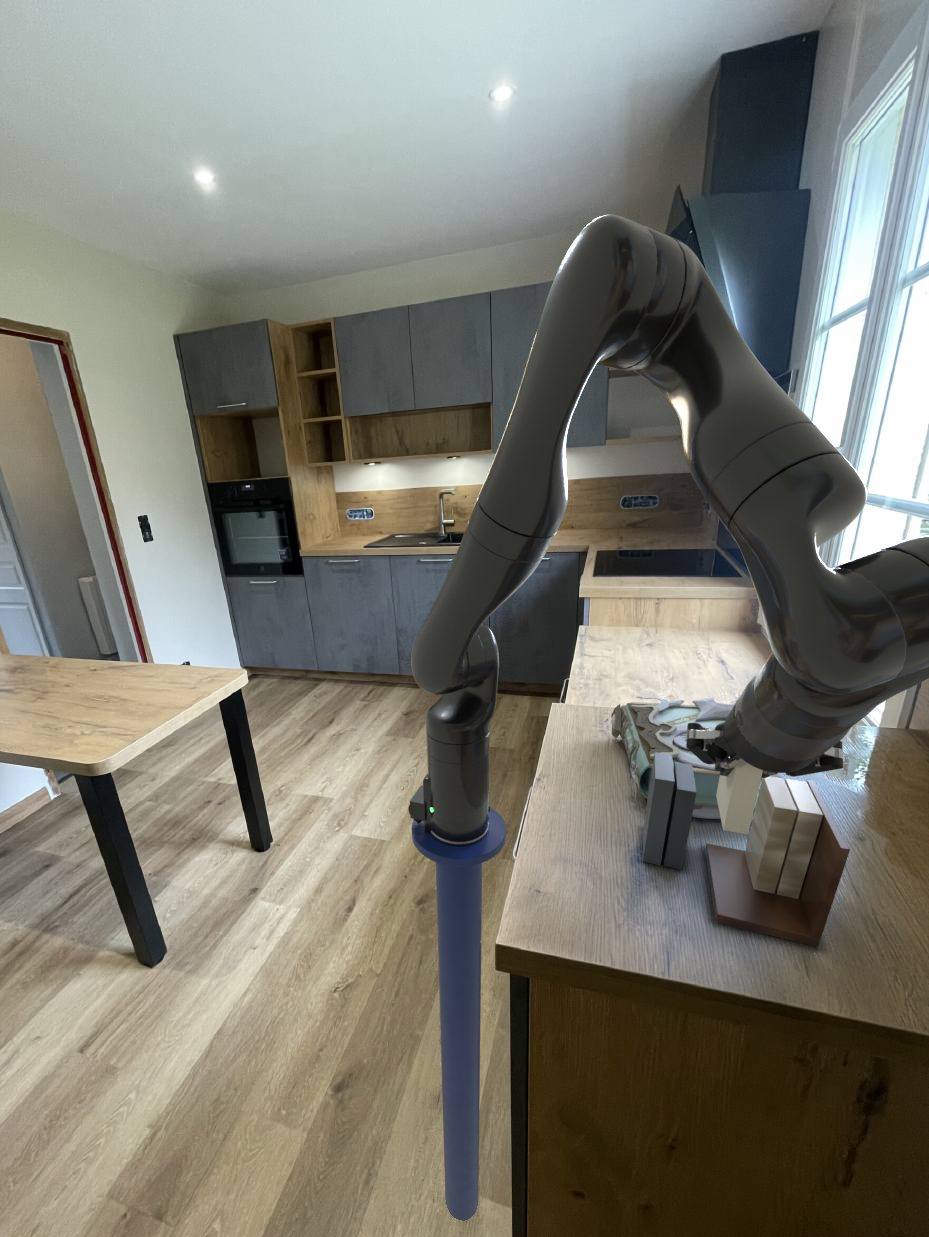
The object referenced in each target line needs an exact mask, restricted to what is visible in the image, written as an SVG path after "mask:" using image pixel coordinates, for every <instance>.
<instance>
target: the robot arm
mask: <svg viewBox="0 0 929 1237" xmlns="http://www.w3.org/2000/svg"><path fill="white" fill-rule="evenodd" d="M596 366H600V367H601V366H602V367H605V368H609V369H614V370H619V371H625V372H629V371H630V372H631V371H633V372H635V373H636V374H638V375H639V376H641V377H642V378H643V379H645V380H646V381H647V382H649V383H650V384H651V385H652V386H654V387H655V388H656V389H657V391H659V392H660V393H661V394H662V395H663V396H664V397H665V398H666V399H667V400H668V402H669V403H670V404H671V406H672V408H673V409H674V411H675V413H676V415H677V418H678V420H679V424H680V425H679V426H680V430H681V440H682V447H683V448H682V449H683V454H684V458H685V461H686V465H687V467H688V470H689V472H690V475H691V476H692V478H693V480H694V482H695V484H696V486H697V488H698V489H699V491H700V493H701V495H702V496H703V497H704V499H705V500H706V502H707V504H708V505H709V506H710V507H711V509H712V510H713V512H714V513H715V515H716V516H717V517H718V519H719V521H720V522H721V523H722V524H723V526H724V527H725V529H726V531H727V532H728V533H729V535H730V536H731V537H732V539H733V540H734V542H735V543H736V545H737V546H738V549H739V550H740V553H741V555H742V557H743V560H744V563H745V565H746V568H747V570H748V573H749V577H750V580H751V582H752V585H753V589H754V590H755V594H756V597H757V598H756V599H757V601H758V604H759V608H760V612H761V616H762V620H763V625H764V628H765V632H766V636H767V639H768V643H769V645H770V648H771V651H772V652H771V654H770V655H769V656H768V658H767V660H766V661H765V662H764V664H763V665H762V667H761V669H760V670H759V671H758V672H757V673H756V674H754V676H753V677H752V678H751V679H750V680H749V681H748V682H747V684H746V686H745V687H744V688H743V690H742V692H741V693H740V695H739V696H738V698H737V700H736V702H735V703H734V704H733V705H734V706H733V708H732V710H731V711H730V713H729V715H728V717H727V719H726V721H725V722H724V723H720V724H718V725H717V726H716V727H715V730H709V728H707V727H704V728H703V727H702V726H701V725H700V724H698V723H688V726H687V742H686V747H687V748H688V749H689V750H690V751H691V752H692V753H693V754H694V755H695V756H697V757H698V758H699V759H700V760H701V761H702V762H703V763H706V764H715V770H716V771H720V775H721V776H728V775H729V774H730V773H731V771H732V770H733V769H734V767H742V766H744V765H745V764H747V763H748V764H750V765H752V766H754V767H756V768H758V769H761V770H763V773H762V777H761V779H762V778H767V777H769V776H770V775H776V774H778V775H779V774H784V773H785V775H786V776H789V777H793V778H795V777H801V776H806V775H807V776H808V775H812V774H813V775H814V774H818V773H823V772H824V773H825V772H831V771H835V770H842V769H844V747H843V741H842V740H843V739H844V738H845V737H846V736H847V734H848V733H849V732H850V730H851V729H852V728H853V727H854V726H855V725H856V724H858V723H859V722H860V721H862V720H863V719H864V718H866V717H867V716H868V715H869V714H871V712H872V711H873V710H875V708H876V707H878V706H879V705H881V704H882V703H884V702H886V701H887V700H889V699H891V698H893V697H895V696H897V695H898V694H900V693H902V692H905V691H907V690H909V689H912V688H913V687H915V686H917V685H920V684H921V683H923V682H925V681H927V680H929V535H922V536H917V537H911V538H908V539H904V540H901V541H898V542H895V543H892V544H889V545H887V546H884V547H881V548H879V549H876V550H875V551H872V552H869V553H867V554H864V555H861V556H859V557H857V558H853V559H851V560H848V561H845V562H843V563H840V564H838V565H835V566H833V567H830V568H829V567H828V566H827V565H826V564H825V562H824V561H823V560H822V559H821V557H820V555H819V552H818V548H820V547H821V546H823V545H824V544H826V543H827V542H830V540H832V539H833V538H835V537H836V536H837V535H838V534H840V533H841V532H843V531H844V530H845V529H846V528H847V527H848V526H850V525H851V524H852V523H853V521H854V520H856V519H857V517H858V516H859V515H860V514H861V512H862V510H863V509H864V507H865V505H866V502H867V499H868V491H867V486H866V484H865V481H864V479H863V478H862V477H861V475H860V473H859V472H858V471H857V470H856V469H855V468H854V466H853V465H852V464H851V462H850V461H848V460H847V458H846V457H845V456H844V455H843V454H842V453H841V452H840V450H839V449H838V448H837V447H836V446H835V445H834V444H833V443H832V442H831V440H830V439H828V437H826V435H825V434H824V433H823V432H822V431H821V430H820V428H818V426H817V425H816V424H815V422H814V421H812V420H811V418H810V417H809V416H808V415H807V414H806V413H805V412H804V411H803V410H802V408H800V407H799V406H798V404H796V403H795V401H794V400H793V399H792V398H791V397H790V396H789V395H788V393H786V391H785V390H784V389H783V388H782V387H781V386H780V385H779V384H778V383H777V381H776V380H775V379H774V378H773V377H772V376H771V374H770V373H769V372H768V371H767V369H766V368H765V367H764V366H763V365H762V364H761V362H760V361H759V359H758V358H757V357H756V355H755V354H754V353H753V351H752V349H751V348H750V347H749V345H748V343H747V342H746V341H745V338H744V337H743V336H742V335H741V333H740V331H739V330H738V328H737V326H736V325H735V323H734V321H733V320H732V318H731V316H730V315H729V313H728V310H727V309H726V306H725V305H724V303H723V300H722V298H721V296H720V295H719V292H718V291H717V288H716V287H715V285H714V283H713V281H712V279H711V277H710V275H709V274H708V271H707V270H706V269H705V267H704V264H703V263H702V262H701V260H700V259H699V257H698V255H697V254H696V253H695V252H694V251H693V249H692V248H691V247H690V246H689V245H687V244H686V243H684V242H683V241H681V240H680V239H678V238H676V237H673V236H670V235H668V234H666V233H663V232H661V231H659V230H656V229H654V228H652V227H649V226H647V225H644V224H641V223H640V222H637V221H635V220H632V219H630V218H627V217H624V216H620V215H617V214H604V215H601V216H598V217H596V218H594V219H593V220H591V221H590V222H589V223H588V224H586V225H585V226H584V227H583V229H581V231H580V232H579V233H578V234H577V235H576V236H575V238H574V240H573V241H572V242H571V244H570V246H569V248H568V249H567V251H566V253H565V255H564V257H563V258H562V260H561V263H560V265H559V267H558V269H557V271H556V274H555V276H554V279H553V281H552V284H551V287H550V289H549V291H548V295H547V298H546V301H545V303H544V307H543V310H542V313H541V316H540V319H539V323H538V326H537V329H536V333H535V336H534V338H533V342H532V346H531V349H530V352H529V356H528V358H527V362H526V366H525V368H524V373H523V376H522V379H521V383H520V385H519V389H518V392H517V394H516V398H515V400H514V404H513V408H512V409H511V413H510V416H509V418H508V420H507V424H506V426H505V430H504V432H503V435H502V438H501V440H500V443H499V445H498V448H497V450H496V453H495V455H494V459H493V460H492V463H491V466H490V468H489V470H488V473H487V475H486V478H485V480H484V482H483V484H482V487H481V488H480V491H479V493H478V496H477V498H476V500H475V502H474V506H473V508H472V511H471V513H470V516H469V518H468V521H467V524H466V527H465V529H464V531H463V532H464V533H463V536H462V538H461V541H460V544H459V545H458V549H457V551H456V553H455V555H454V557H453V560H452V562H451V565H450V566H449V569H448V572H447V574H446V577H445V579H444V581H443V583H442V586H441V588H440V590H439V592H438V594H437V596H436V597H435V600H434V602H433V604H432V605H431V607H430V609H429V611H428V613H427V615H426V616H425V618H424V620H423V622H422V623H421V626H420V628H418V631H417V633H416V634H415V638H414V640H413V644H412V646H411V652H410V669H411V673H412V677H413V679H414V682H415V683H416V684H417V686H418V687H419V688H420V689H421V690H422V691H424V692H426V693H428V694H429V695H430V694H431V695H436V696H438V695H439V696H440V695H441V697H440V698H439V699H438V700H437V701H436V702H434V704H432V705H431V706H430V708H428V711H427V712H426V714H425V731H426V732H425V734H426V764H427V774H426V775H425V776H424V778H423V780H422V785H420V786H419V787H418V788H417V790H416V791H415V793H414V795H412V797H411V798H410V800H409V805H408V809H407V810H408V814H409V815H410V816H409V817H410V819H412V820H415V821H416V822H417V824H419V823H420V822H422V821H424V824H425V832H426V833H429V834H431V835H432V836H433V837H434V838H435V839H436V840H438V841H439V842H441V843H444V844H447V845H451V846H468V845H472V844H475V843H477V842H479V841H481V840H482V839H483V838H484V837H485V836H486V835H487V833H488V830H489V815H488V812H489V813H490V807H491V806H490V804H489V803H490V802H489V800H490V797H489V796H490V745H491V744H490V741H491V738H490V737H491V736H490V734H491V732H490V731H491V721H492V720H493V718H494V715H495V713H496V707H497V696H498V684H499V683H498V681H499V671H500V670H499V669H500V657H499V656H500V655H499V647H498V643H497V640H496V637H495V634H494V632H493V631H492V629H491V628H490V627H489V626H488V625H487V624H486V623H485V622H486V620H487V619H488V618H489V617H490V616H491V615H492V614H493V613H494V612H495V611H496V610H498V608H500V607H501V605H503V604H504V603H505V602H506V601H507V600H508V599H509V598H510V597H511V596H512V595H513V594H514V593H515V592H516V591H517V590H518V589H520V588H521V587H522V585H524V583H525V582H526V581H527V580H528V579H529V578H530V577H531V576H532V575H533V573H534V572H535V571H536V569H537V568H538V567H539V565H540V563H541V562H542V560H543V559H544V557H545V555H546V553H547V551H548V550H549V548H550V546H551V544H552V542H553V541H554V538H555V537H556V535H557V533H558V531H559V529H560V528H561V525H562V523H563V521H564V518H565V515H566V511H567V506H568V499H569V483H568V480H569V479H568V463H567V439H568V432H569V428H570V424H571V421H572V417H573V414H574V412H575V409H576V407H577V405H578V402H579V400H580V397H581V396H582V393H583V390H584V388H585V387H586V384H587V382H588V381H589V380H588V379H589V378H590V376H591V374H592V373H593V370H594V369H595V367H596ZM716 744H717V745H716Z"/></svg>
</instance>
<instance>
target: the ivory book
mask: <svg viewBox="0 0 929 1237" xmlns="http://www.w3.org/2000/svg"><path fill="white" fill-rule="evenodd" d="M762 773H763V770H761V769H758V768H756V767H754V766H752V765H750V764H748V763H747V764H745V765H744V766H742V767H734V769H733V770H732V771H731V773H730V774H729V775H728V776H721V775H720V778H719V783H718V788H717V793H716V797H717V802H718V807H719V812H720V817H721V818H720V822H721V826H722V830H723V831H725V832H731V833H737V834H743V835H748V836H749V833H750V828H751V824H752V822H751V820H752V816H753V812H754V807H755V803H756V799H757V794H758V790H759V791H760V787H761V782H762V781H761V777H762Z"/></svg>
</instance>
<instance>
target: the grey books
mask: <svg viewBox="0 0 929 1237" xmlns="http://www.w3.org/2000/svg"><path fill="white" fill-rule="evenodd" d="M695 798H696V786H695V779H694V773H693V766H692V764H686V763H679V762H674V768H673V758H672V755H671V754H664V753H657V752H655V753H654V760H653V767H652V773H651V780H650V787H649V794H648V799H647V801H646V808H645V814H644V821H643V828H642V862H644V863H647V864H648V863H649V864H654V865H656V866H657V865H658V866H661V864H662V860H663V866H664V867H667V868H673V869H677V870H683V867H684V863H685V862H684V861H685V856H686V850H687V846H688V841H689V836H690V829H691V824H692V820H693V819H692V818H693V816H692V814H693V809H694V803H695Z"/></svg>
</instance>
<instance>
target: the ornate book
mask: <svg viewBox="0 0 929 1237" xmlns="http://www.w3.org/2000/svg"><path fill="white" fill-rule="evenodd" d="M648 699H649V700H651V699H654V700H658V701H660V703H657V702H641V701H640V702H639V701H631V702H627V703H626V704H625V705H624V704H623V705H621V703H619V704H618V705H616V706H615V707H614V708H613V710H612V713H611V719H610V723H611V735H612V736H613V737H614V739H617V738H619V737H620V739H621V741H622V742H623V745H624V747H625V751H626V754H627V757H628V765H629V769H630V774H631V778H630V781H629V784H630V785H629V786H630V787H631V798H633V797H634V802H636V800H637V795H638V794H637V792H638V791H639V793H640V795H641V796H642V797H643V798H645V799H647V800H648V794H649V787H650V780H651V773H652V767H653V760H654V753H655V752H657V753H664V754H671V755H672V758H673V768H674V762H679V763H686V764H692V766H693V773H694V779H695V786H696V798H695V803H694V809H693V814H692V818H699V819H708V820H710V819H711V820H714V819H715V820H716V819H717V820H718V819H721V817H720V812H719V807H718V802H717V797H716V793H717V788H718V783H719V778H720V771H716V770H715V764H706V763H703V762H702V761H701V760H700V759H699V758H698V757H697V756H695V755H694V754H693V753H692V752H691V751H690V750H689V749H688V748H687V747H686V742H687V726H688V723H698V724H700V725H701V726H702V727H703V728H704V727H707V728H709V730H715V727H716V726H717V725H718V724H720V723H724V722H725V721H726V719H727V717H728V715H729V713H730V711H731V710H732V708H733V706H734V705H735V704H733V703H725V702H716V701H715V700H714V699H715V698H714V697H708V698H703V699H702V698H701V699H695V700H692V704H684V703H685V700H683V699H680V700H670V701H668V700H667V699H665V698H660V697H653V696H651V697H642V698H640V700H648ZM716 745H717V744H716ZM770 777H777V778H783V779H784V781H785V779H786V778H784V777H782V776H781V775H780V774H779V773H778V774H776V775H770ZM760 782H762V779H761V781H760ZM759 791H760V789H759V790H758V794H757V799H758V795H759ZM757 799H756V803H757ZM756 803H755V807H754V812H755V808H756ZM754 812H753V816H754ZM753 816H752V820H753ZM752 820H751V823H752Z"/></svg>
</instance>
